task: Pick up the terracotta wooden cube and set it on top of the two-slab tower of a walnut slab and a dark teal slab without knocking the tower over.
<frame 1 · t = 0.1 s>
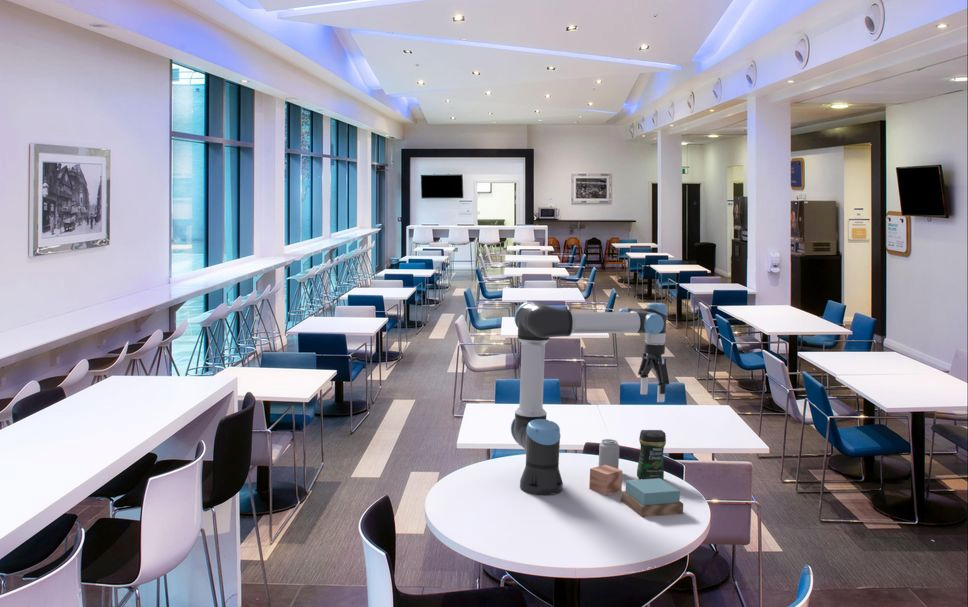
hand: (652, 398, 301), 28 cm above the table, tool pointing down, fingers open, 13 cm apart
tower base: (651, 508, 262), on the table
can: (608, 472, 299), on the table
block: (605, 490, 278), on the table
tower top: (651, 497, 262), point 3 cm above the table
coffee jar: (650, 479, 292), on the table
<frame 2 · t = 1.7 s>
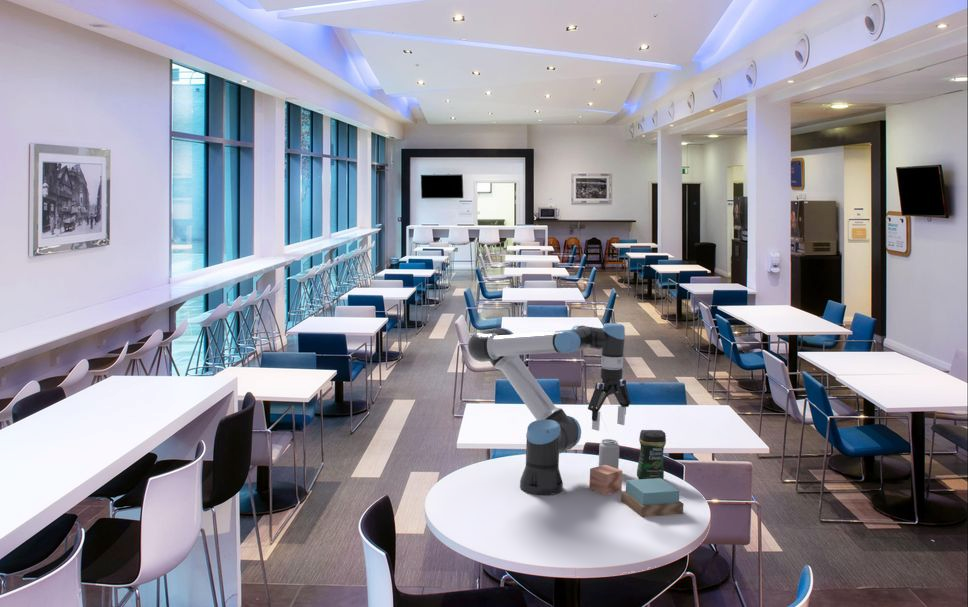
hand: (608, 427, 276), 23 cm above the table, tool pointing down, fingers open, 13 cm apart
tower base: (651, 508, 262), on the table, touching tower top
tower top: (651, 497, 262), point 3 cm above the table, touching tower base
everything else where it was.
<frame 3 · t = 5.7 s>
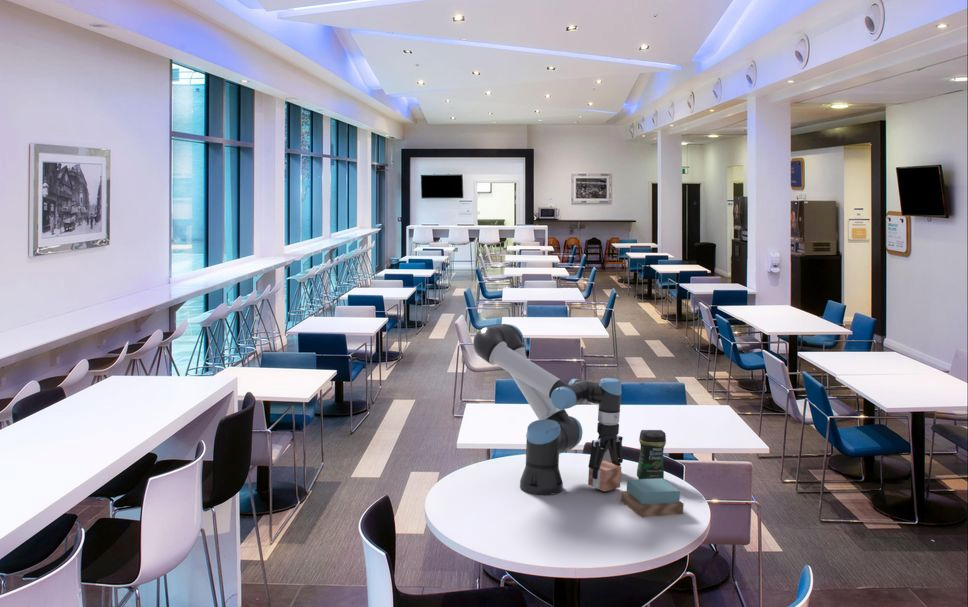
hand: (604, 485, 278), 2 cm above the table, tool pointing down, fingers closed on block, 8 cm apart
block: (604, 486, 278), point 1 cm above the table, touching gripper
everything else where it was.
when the fingers open (9 cm above the table, at t = 12.1 s): block drops 2 cm, resting on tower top.
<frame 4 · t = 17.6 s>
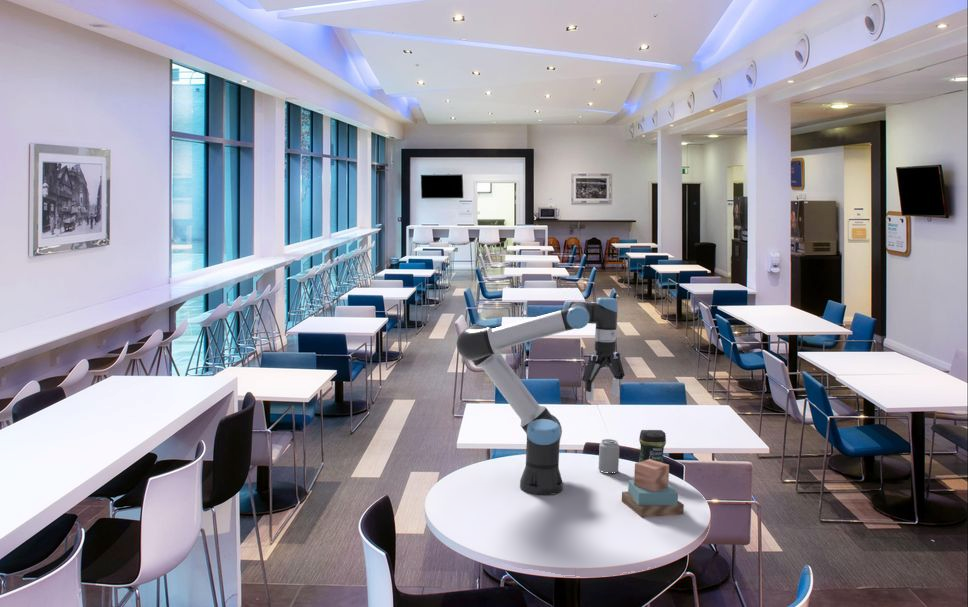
hand: (602, 398, 285), 31 cm above the table, tool pointing down, fingers open, 13 cm apart
block: (651, 486, 261), point 7 cm above the table, touching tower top
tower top: (652, 498, 261), point 3 cm above the table, touching block, tower base
everything else where it was.
at the end: block 0.7 cm off-centre on the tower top, point 4.0 cm above the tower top's base; block tilted 0°; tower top moved 1.1 cm from its start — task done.
